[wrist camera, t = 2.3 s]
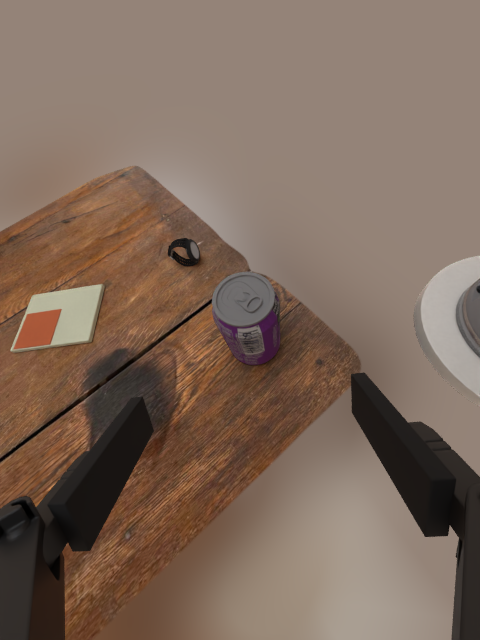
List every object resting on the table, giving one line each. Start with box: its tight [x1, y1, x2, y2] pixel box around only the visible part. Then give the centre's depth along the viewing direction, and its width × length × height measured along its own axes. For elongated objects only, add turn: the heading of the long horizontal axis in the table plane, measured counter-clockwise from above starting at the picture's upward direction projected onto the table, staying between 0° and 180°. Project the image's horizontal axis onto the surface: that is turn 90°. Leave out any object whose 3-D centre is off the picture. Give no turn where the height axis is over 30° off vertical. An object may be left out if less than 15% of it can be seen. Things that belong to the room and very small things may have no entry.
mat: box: [10, 284, 105, 353], centre depth 41 cm, size 14×11×1 cm
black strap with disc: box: [168, 238, 200, 266], centre depth 40 cm, size 4×5×5 cm
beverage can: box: [212, 272, 280, 365], centre depth 28 cm, size 7×7×12 cm
